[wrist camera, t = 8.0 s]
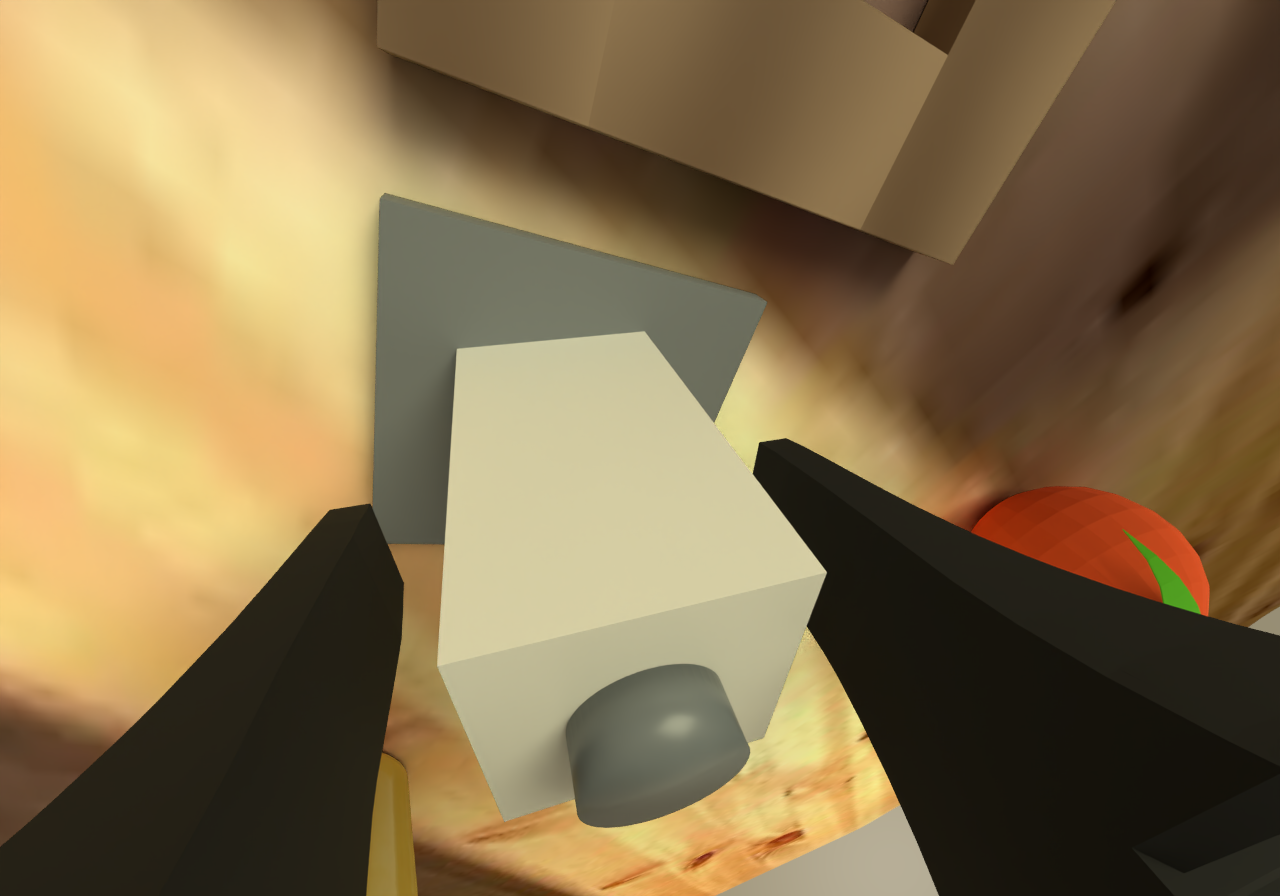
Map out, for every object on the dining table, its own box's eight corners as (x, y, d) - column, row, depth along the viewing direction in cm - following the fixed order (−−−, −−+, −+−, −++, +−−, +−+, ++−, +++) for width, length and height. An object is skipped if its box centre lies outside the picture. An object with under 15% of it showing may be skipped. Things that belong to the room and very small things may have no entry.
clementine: (918, 494, 18) (1109, 661, 13) (1081, 403, 18) (1350, 535, 13) (928, 588, 24) (1069, 737, 18) (1056, 519, 23) (1240, 649, 18)
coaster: (755, 293, 11) (767, 302, 11) (653, 533, 15) (658, 547, 15) (385, 193, 8) (379, 198, 8) (375, 526, 12) (371, 543, 12)
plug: (644, 331, 11) (875, 636, 5) (641, 470, 13) (789, 795, 7) (456, 349, 10) (430, 764, 4) (489, 495, 12) (507, 897, 6)
